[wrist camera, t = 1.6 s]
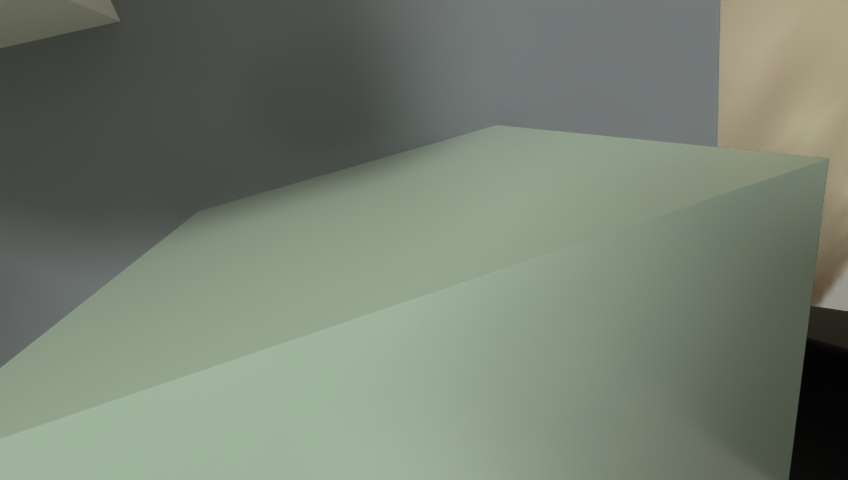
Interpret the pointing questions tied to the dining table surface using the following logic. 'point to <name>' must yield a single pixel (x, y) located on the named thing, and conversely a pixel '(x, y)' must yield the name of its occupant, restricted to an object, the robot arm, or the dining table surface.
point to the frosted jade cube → (448, 324)
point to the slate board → (300, 110)
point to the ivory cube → (50, 18)
